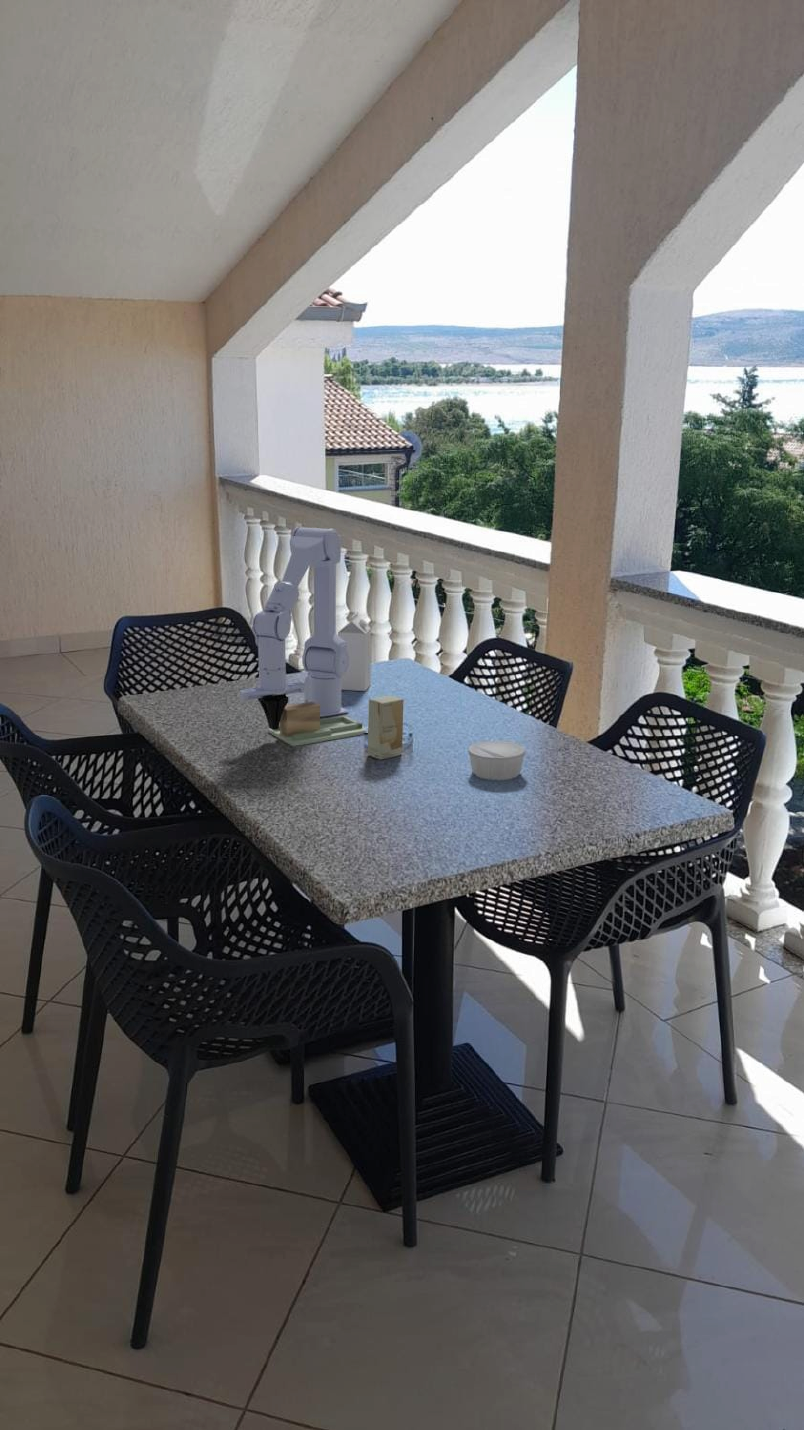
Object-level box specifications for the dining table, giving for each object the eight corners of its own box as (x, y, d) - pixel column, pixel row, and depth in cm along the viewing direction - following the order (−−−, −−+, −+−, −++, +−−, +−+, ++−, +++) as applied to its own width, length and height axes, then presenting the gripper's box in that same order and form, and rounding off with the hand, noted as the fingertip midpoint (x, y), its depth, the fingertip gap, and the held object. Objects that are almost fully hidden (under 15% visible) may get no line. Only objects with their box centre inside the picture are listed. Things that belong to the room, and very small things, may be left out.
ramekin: (460, 778, 219) (461, 753, 217) (477, 762, 229) (477, 737, 227) (516, 786, 215) (517, 760, 213) (530, 768, 225) (531, 744, 223)
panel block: (280, 732, 243) (279, 706, 242) (312, 727, 248) (312, 701, 246) (287, 737, 241) (287, 710, 239) (320, 731, 245) (319, 705, 243)
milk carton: (338, 690, 282) (337, 616, 276) (344, 683, 289) (343, 611, 283) (365, 691, 281) (365, 617, 275) (370, 684, 287) (371, 612, 282)
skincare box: (380, 760, 228) (380, 703, 225) (366, 755, 231) (367, 699, 228) (403, 754, 232) (404, 698, 229) (390, 749, 236) (390, 694, 232)
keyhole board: (268, 732, 247) (267, 724, 246) (342, 719, 256) (342, 712, 256) (292, 746, 237) (292, 738, 236) (369, 733, 247) (369, 725, 246)
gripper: (249, 675, 229) (250, 738, 233) (311, 667, 237) (312, 728, 241) (234, 668, 235) (236, 729, 239) (296, 660, 243) (297, 720, 246)
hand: (273, 728), depth 240 cm, fingers closed
